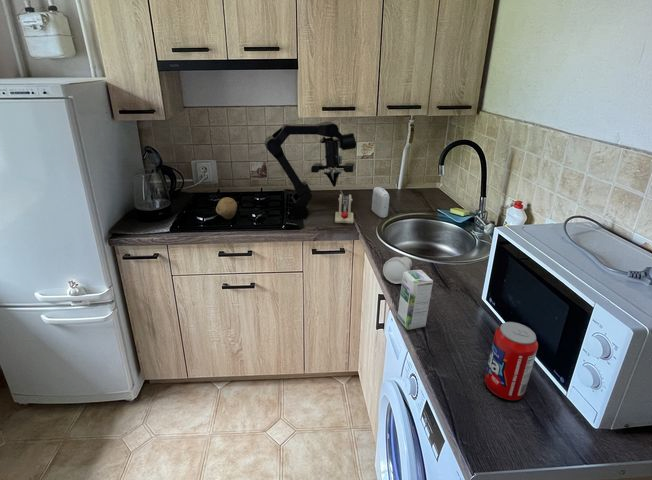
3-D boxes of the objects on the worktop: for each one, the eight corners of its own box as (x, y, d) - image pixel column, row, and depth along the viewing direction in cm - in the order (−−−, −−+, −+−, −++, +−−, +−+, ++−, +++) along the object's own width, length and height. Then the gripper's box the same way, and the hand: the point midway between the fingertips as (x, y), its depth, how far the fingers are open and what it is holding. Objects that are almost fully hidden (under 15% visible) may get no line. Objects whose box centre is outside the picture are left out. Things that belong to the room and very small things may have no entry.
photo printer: (388, 217, 171) (391, 191, 167) (380, 218, 170) (382, 192, 165) (378, 209, 180) (380, 184, 176) (370, 210, 179) (372, 185, 175)
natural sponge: (215, 223, 163) (213, 201, 159) (219, 215, 171) (217, 194, 167) (236, 223, 163) (235, 201, 159) (239, 215, 171) (238, 194, 168)
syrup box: (396, 317, 104) (401, 271, 99) (415, 314, 106) (421, 268, 101) (406, 330, 99) (413, 283, 94) (426, 327, 101) (434, 279, 96)
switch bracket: (353, 223, 164) (354, 200, 160) (334, 222, 165) (335, 199, 161) (353, 215, 173) (354, 192, 169) (335, 214, 174) (336, 191, 170)
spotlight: (378, 276, 121) (387, 254, 119) (390, 268, 131) (398, 247, 129) (402, 289, 118) (411, 266, 115) (412, 279, 127) (421, 258, 125)
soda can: (525, 408, 77) (543, 349, 72) (483, 396, 80) (497, 338, 75) (521, 380, 84) (537, 325, 79) (483, 370, 87) (495, 315, 82)
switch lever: (348, 220, 159) (348, 215, 157) (340, 219, 160) (341, 215, 158) (348, 200, 168) (348, 195, 165) (341, 199, 168) (342, 195, 166)
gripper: (356, 147, 167) (358, 180, 173) (316, 148, 173) (319, 180, 179) (351, 153, 158) (353, 188, 163) (309, 154, 163) (312, 188, 169)
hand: (334, 186), depth 169 cm, fingers closed
